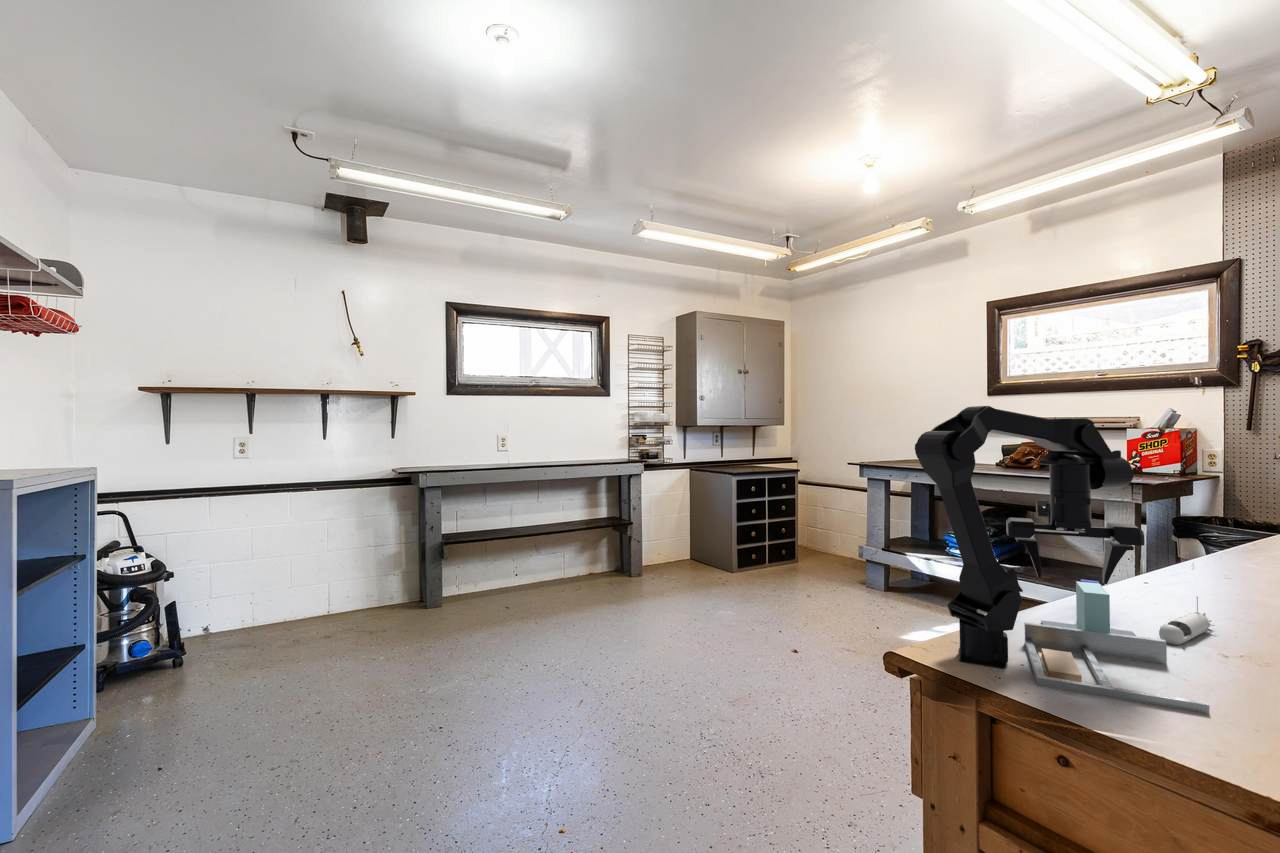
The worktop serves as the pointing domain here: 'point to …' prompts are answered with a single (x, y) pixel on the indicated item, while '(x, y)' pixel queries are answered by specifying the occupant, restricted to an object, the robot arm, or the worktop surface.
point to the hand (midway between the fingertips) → (1071, 580)
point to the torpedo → (1185, 628)
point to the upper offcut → (1061, 665)
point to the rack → (1100, 646)
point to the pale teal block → (1092, 607)
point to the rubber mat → (1076, 627)
